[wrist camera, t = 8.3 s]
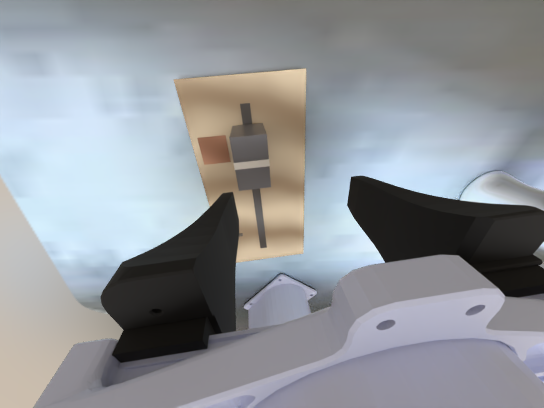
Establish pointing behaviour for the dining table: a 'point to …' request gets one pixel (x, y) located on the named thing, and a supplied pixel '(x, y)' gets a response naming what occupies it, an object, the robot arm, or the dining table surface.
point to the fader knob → (250, 156)
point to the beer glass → (505, 194)
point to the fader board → (281, 148)
